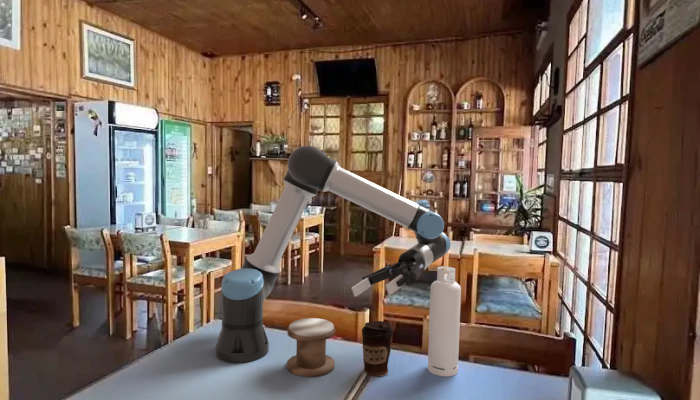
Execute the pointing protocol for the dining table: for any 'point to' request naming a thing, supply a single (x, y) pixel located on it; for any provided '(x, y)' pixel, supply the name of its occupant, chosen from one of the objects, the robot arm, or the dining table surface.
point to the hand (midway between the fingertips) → (369, 291)
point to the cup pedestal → (311, 347)
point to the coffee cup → (376, 347)
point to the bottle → (444, 323)
